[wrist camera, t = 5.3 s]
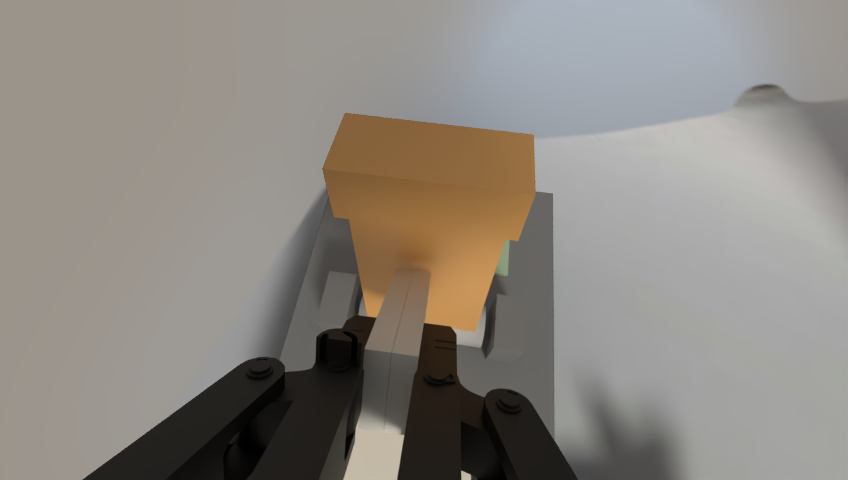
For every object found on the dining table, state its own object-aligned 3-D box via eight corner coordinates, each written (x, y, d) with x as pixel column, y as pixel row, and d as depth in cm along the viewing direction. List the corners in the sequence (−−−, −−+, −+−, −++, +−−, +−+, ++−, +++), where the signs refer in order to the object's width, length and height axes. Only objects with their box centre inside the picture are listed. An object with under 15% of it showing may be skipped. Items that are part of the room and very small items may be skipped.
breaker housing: (518, 541, 26) (576, 592, 17) (280, 500, 27) (203, 526, 18) (526, 244, 37) (566, 167, 27) (352, 221, 38) (329, 139, 28)
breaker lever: (478, 357, 24) (541, 195, 12) (359, 339, 24) (316, 167, 13) (481, 313, 25) (539, 135, 14) (369, 297, 26) (339, 112, 14)
